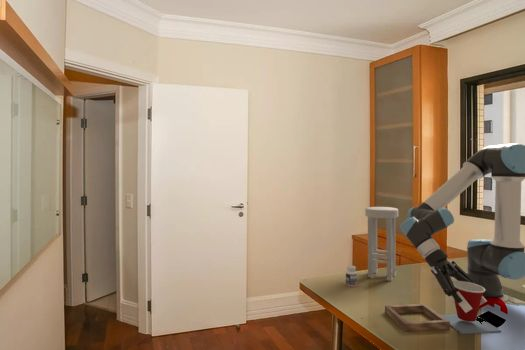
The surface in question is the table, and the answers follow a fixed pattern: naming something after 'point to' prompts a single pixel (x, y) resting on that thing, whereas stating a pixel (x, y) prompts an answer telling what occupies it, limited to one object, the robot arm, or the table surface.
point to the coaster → (470, 325)
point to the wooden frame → (418, 325)
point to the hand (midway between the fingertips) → (476, 306)
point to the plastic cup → (469, 299)
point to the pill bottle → (351, 276)
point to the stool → (372, 240)
